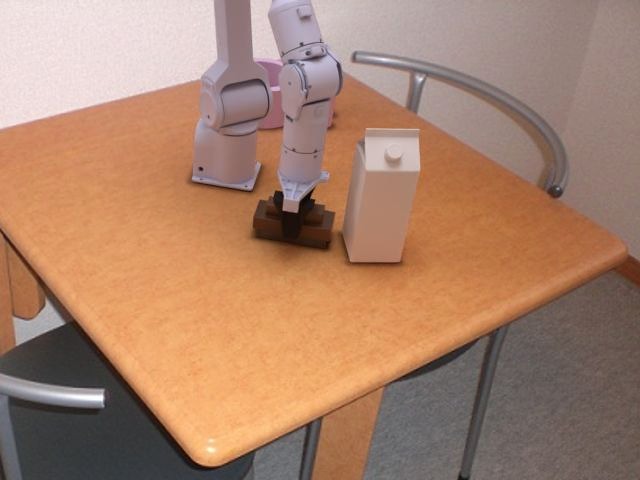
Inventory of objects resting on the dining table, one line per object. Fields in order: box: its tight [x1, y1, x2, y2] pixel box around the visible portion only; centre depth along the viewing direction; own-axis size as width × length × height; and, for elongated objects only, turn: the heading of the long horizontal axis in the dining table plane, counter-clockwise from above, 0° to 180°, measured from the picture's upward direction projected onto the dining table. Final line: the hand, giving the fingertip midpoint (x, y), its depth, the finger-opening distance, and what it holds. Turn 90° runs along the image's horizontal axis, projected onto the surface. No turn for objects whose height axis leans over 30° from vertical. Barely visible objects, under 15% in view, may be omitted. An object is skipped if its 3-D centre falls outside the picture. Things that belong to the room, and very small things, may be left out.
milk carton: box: [341, 127, 421, 263], centre depth 119 cm, size 7×7×19 cm
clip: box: [253, 57, 337, 130], centre depth 152 cm, size 20×12×7 cm, turn 81°
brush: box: [252, 195, 336, 249], centre depth 125 cm, size 11×5×5 cm, turn 79°
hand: (293, 226), depth 126 cm, fingers closed on brush, 4 cm apart
